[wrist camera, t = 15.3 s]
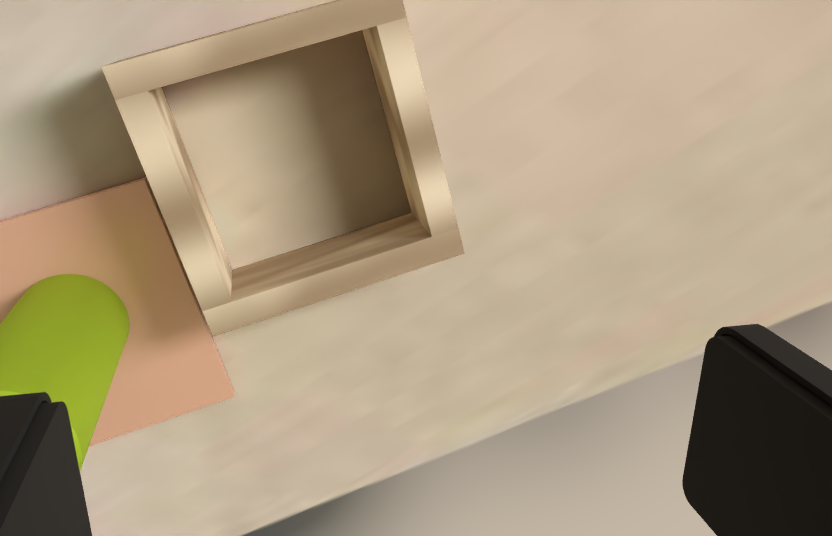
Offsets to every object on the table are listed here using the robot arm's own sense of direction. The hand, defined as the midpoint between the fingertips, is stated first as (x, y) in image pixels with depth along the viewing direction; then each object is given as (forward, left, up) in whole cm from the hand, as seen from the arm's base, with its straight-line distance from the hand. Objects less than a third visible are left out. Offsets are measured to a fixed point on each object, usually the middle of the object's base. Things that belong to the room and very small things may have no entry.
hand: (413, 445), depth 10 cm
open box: (+1, 0, -32) cm, 31 cm away
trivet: (+7, -15, -32) cm, 36 cm away
